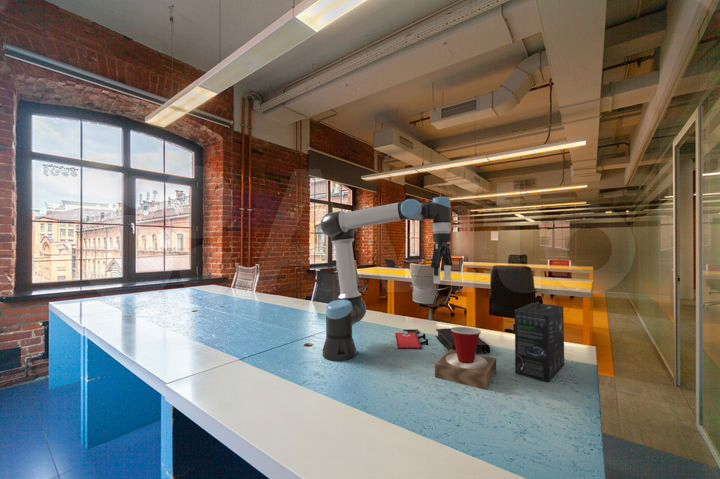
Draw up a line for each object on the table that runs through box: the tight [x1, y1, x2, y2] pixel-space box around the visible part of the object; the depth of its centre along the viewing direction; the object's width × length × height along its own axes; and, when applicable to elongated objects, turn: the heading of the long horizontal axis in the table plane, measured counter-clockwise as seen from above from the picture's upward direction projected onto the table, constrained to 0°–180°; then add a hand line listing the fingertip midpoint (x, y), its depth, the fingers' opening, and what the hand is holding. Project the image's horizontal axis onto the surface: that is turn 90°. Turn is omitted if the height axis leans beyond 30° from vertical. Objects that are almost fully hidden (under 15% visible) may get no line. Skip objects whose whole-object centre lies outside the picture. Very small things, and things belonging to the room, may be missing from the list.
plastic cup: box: [450, 326, 482, 364], centre depth 117 cm, size 11×11×12 cm
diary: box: [435, 328, 491, 354], centre depth 150 cm, size 19×25×5 cm
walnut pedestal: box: [434, 349, 497, 390], centre depth 117 cm, size 18×18×5 cm
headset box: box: [514, 301, 565, 383], centre depth 121 cm, size 22×12×26 cm, turn 135°
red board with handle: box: [394, 328, 429, 350], centre depth 159 cm, size 30×3×15 cm
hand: (442, 281), depth 134 cm, fingers open, 13 cm apart
